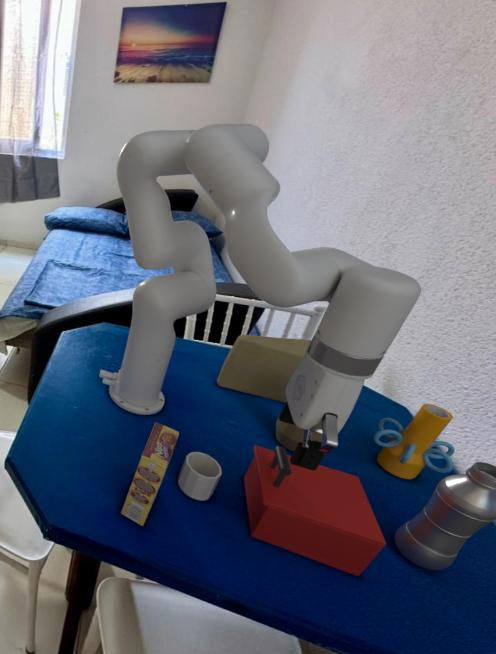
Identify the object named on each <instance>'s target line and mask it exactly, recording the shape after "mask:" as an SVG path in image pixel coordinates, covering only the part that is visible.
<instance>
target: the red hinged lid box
mask: <svg viewBox="0 0 496 654" xmlns="http://www.w3.org/2000/svg"><path fill="white" fill-rule="evenodd" d="M243 481H244V482H243V483H244V490H245V491H244V492H245V498H246V507H247V514H248V521H249V523H248V524H249V529H250V537H253V538H254V539H258V540H260V541H263V542H266V543H268V544H270V545H273V546H276V547H279V548H280V549H281V548H282V549H284V550H287V551H289V552H292V553H295V554H296V555H300V556H303V557H305V558H308V559H310V560H313V561H316V562H319V563H321V564H324V565H326V566H329V567H332V568H334V569H337V570H340V571H342V572H345V573H348V574H350V575H353V576H355V577H359V576H361V574H362V573H363V571H365V570H366V569H367V567H368V566H369V565H370V563H371V562H372V561H373V560H374V559H375V558H376V557H377V555H379V553H380V552H381V551H382V550H383V548H384V547H383V546H380V545H377V544H374V543H371V542H368V541H366V540H363V539H360V538H357V537H354V536H351V535H348V534H345V533H343V532H340V531H337V530H334V529H331V528H328V527H325V526H323V525H320V524H317V523H314V522H311V521H308V520H305V519H303V518H300V517H297V516H294V515H291V514H288V513H285V512H282V511H280V510H277V509H274V508H271V507H268V506H265V505H263V504H262V498H261V492H260V486H259V480H258V473H257V467H256V461H255V456H254V457H253V459H252V462H251V463H250V465H249V467H248V470H247V471H246V474H245V475H244V477H243Z"/></svg>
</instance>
